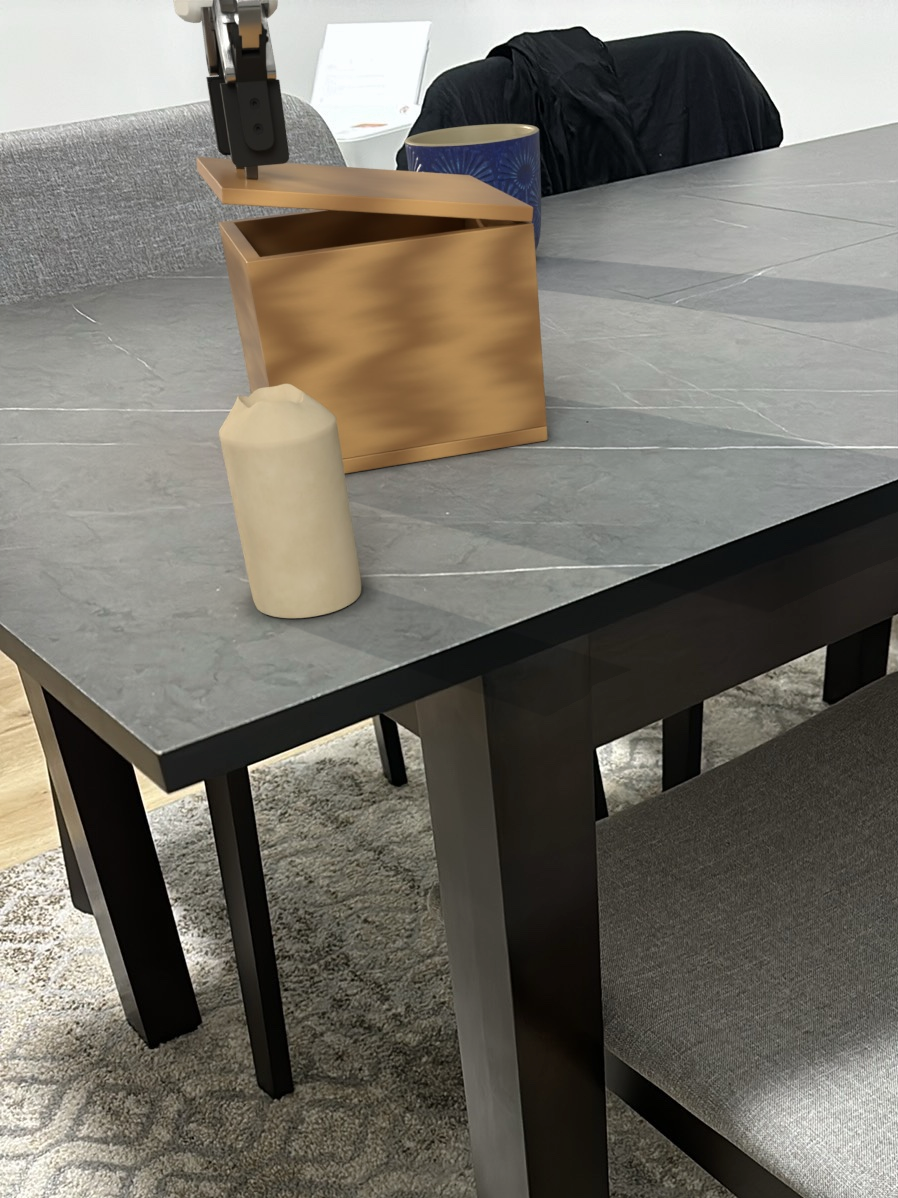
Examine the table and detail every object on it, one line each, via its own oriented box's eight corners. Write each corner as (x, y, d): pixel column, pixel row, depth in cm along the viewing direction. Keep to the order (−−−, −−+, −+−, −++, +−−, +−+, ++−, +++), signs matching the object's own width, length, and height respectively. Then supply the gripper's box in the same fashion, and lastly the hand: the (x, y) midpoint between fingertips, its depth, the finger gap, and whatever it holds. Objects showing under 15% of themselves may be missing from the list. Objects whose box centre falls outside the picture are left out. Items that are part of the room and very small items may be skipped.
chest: (286, 483, 85) (246, 261, 77) (255, 420, 96) (218, 222, 89) (548, 440, 88) (533, 223, 81) (488, 384, 100) (470, 189, 92)
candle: (357, 615, 68) (323, 404, 62) (245, 623, 68) (201, 413, 62) (367, 573, 72) (337, 371, 66) (263, 580, 73) (223, 380, 66)
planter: (408, 261, 138) (393, 134, 131) (528, 245, 140) (519, 119, 133) (433, 284, 128) (418, 149, 121) (562, 267, 130) (554, 133, 123)
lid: (222, 204, 76) (218, 96, 73) (196, 171, 87) (192, 77, 84) (532, 222, 81) (540, 122, 78) (469, 188, 92) (474, 100, 89)
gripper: (110, -225, 77) (175, 150, 87) (130, -270, 63) (204, 181, 74) (246, -228, 78) (293, 140, 89) (294, -273, 65) (343, 169, 75)
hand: (252, 155), depth 81 cm, fingers closed on lid, 6 cm apart
